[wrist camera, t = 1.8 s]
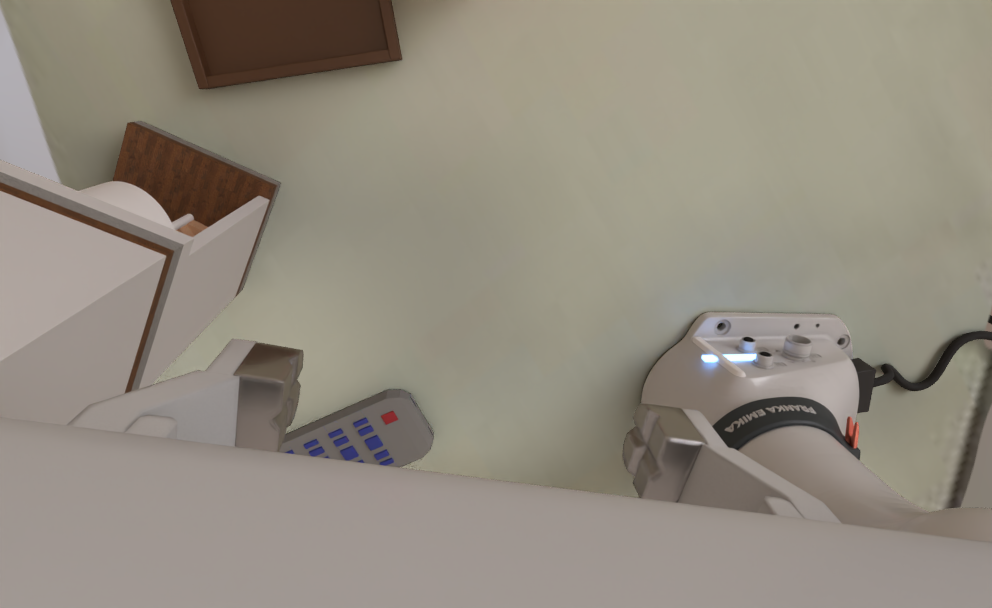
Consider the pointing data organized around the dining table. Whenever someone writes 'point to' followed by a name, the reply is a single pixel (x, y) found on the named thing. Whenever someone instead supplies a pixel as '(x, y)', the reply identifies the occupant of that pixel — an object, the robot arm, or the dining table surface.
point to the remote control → (367, 432)
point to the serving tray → (283, 37)
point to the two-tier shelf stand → (118, 270)
